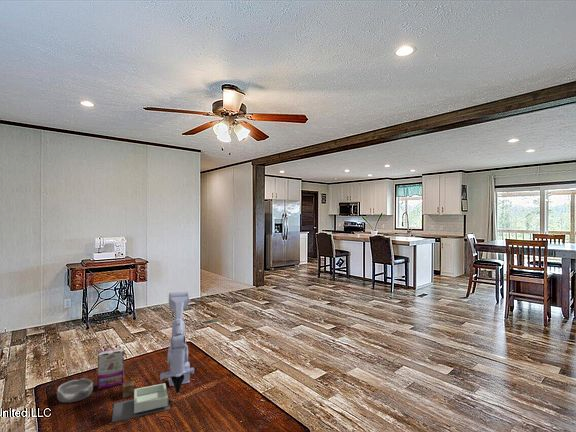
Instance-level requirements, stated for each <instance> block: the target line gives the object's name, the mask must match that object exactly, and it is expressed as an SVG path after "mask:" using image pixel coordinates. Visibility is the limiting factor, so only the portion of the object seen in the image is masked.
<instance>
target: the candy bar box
mask: <svg viewBox="0 0 576 432" xmlns="http://www.w3.org/2000/svg"><path fill="white" fill-rule="evenodd" d="M124 348H125V347H120V348H113V349H108V350H107V349H106V350H100V351H98V353H97V390H100V389H101V390H102V389H105V388H110V387H115V386H119V385H120V386H121V385H123V382H125V381H124V380H125V379H124V377H125V371H124V370H125V369H124V368H125V367H124V366H125V364H124V363H125V357H124V355H125V349H124Z"/></svg>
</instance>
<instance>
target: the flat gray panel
mask: <svg viewBox="0 0 576 432" xmlns="http://www.w3.org/2000/svg"><path fill="white" fill-rule="evenodd" d="M167 396H168V397H169V395H168V392H167ZM112 408H113V410H112V419H111V423H116V422H120V421H125V420H128V419H129V420H130V419H133V418H137V417H143V416H146V415H150V414H155V413H159V412H163V411H168V410H171V407H170V400H169V398H168V406H165V407H164V408H163V409H161V407H160V408H156V409H151V410H147V411H142V412H141V413H140V414H138V413H134V398H133V399H128V400H124V401H123V400H122V401H119V402H114V403H113V407H112Z"/></svg>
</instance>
